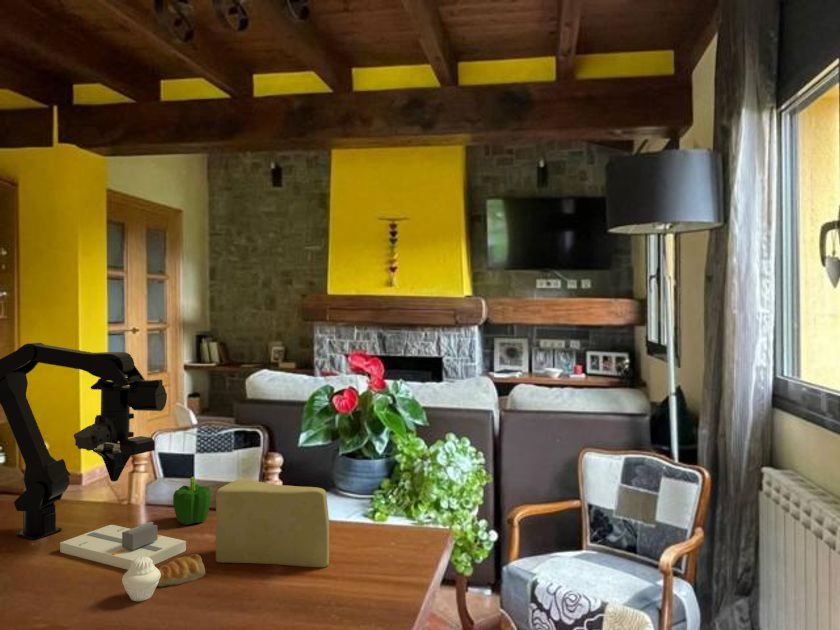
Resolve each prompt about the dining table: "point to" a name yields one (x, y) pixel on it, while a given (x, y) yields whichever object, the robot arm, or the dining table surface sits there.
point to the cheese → (272, 524)
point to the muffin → (141, 579)
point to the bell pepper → (192, 503)
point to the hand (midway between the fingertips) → (114, 480)
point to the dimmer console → (119, 547)
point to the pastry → (181, 570)
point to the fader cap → (139, 536)
